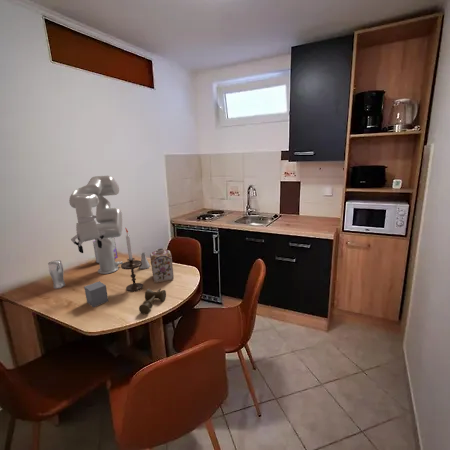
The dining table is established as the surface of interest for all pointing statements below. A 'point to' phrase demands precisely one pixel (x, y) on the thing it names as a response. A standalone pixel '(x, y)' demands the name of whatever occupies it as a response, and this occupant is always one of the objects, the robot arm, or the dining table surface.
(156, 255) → the decorative jar
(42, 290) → the dining table surface
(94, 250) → the white carton
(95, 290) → the matte gray cube
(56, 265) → the beer glass
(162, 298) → the kendama
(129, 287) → the candlestick
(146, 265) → the flask
